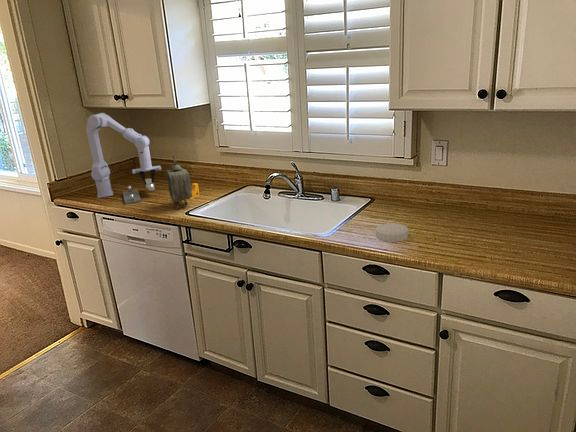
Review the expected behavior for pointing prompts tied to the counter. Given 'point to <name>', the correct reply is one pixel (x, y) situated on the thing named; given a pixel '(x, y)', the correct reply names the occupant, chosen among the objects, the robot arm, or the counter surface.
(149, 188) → the ball knob lever
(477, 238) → the counter surface
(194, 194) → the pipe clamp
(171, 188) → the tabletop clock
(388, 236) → the mooncake
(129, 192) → the grey metal plate
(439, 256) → the counter surface
